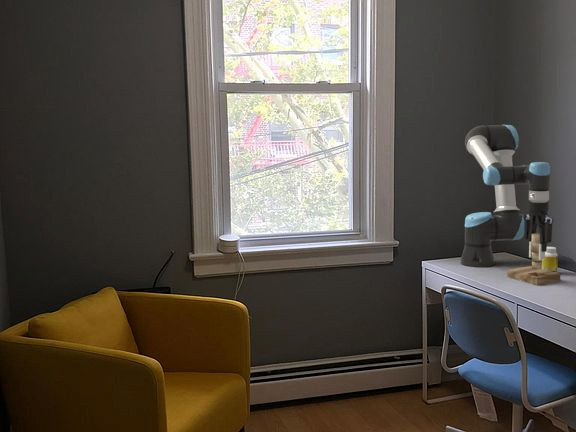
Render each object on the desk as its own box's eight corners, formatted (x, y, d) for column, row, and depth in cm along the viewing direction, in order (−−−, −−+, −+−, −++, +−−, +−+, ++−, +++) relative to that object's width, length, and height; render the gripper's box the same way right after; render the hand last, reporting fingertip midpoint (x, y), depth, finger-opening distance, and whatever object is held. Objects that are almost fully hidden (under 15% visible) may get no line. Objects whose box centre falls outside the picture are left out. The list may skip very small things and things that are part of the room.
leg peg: (528, 267, 252) (529, 234, 250) (536, 266, 254) (537, 232, 252) (536, 269, 248) (537, 235, 246) (544, 268, 250) (545, 234, 248)
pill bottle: (558, 274, 261) (559, 249, 259) (543, 274, 262) (544, 249, 261) (555, 271, 267) (556, 246, 265) (540, 271, 268) (541, 246, 267)
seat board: (506, 276, 260) (507, 269, 260) (529, 272, 266) (530, 266, 265) (536, 285, 246) (536, 278, 246) (560, 280, 251) (560, 273, 251)
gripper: (515, 199, 253) (513, 255, 257) (549, 204, 238) (547, 263, 241) (528, 198, 256) (527, 253, 260) (563, 202, 241) (561, 261, 244)
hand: (536, 258), depth 250 cm, fingers closed on leg peg, 4 cm apart
